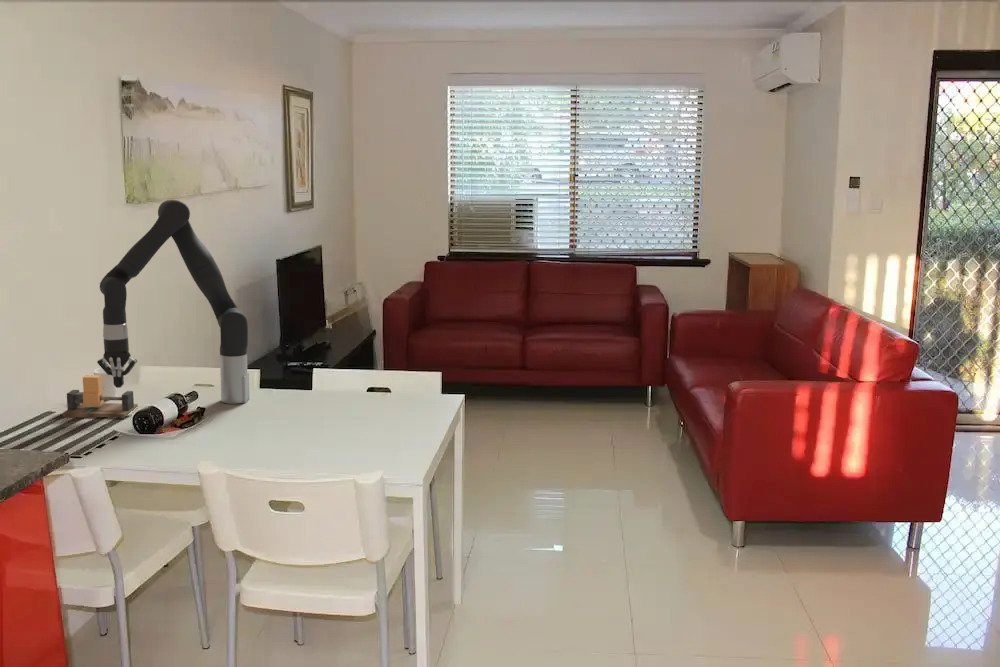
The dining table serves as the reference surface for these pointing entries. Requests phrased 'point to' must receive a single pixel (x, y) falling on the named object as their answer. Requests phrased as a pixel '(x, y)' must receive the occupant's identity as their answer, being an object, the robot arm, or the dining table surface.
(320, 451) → the dining table surface
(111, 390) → the white cup
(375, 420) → the dining table surface
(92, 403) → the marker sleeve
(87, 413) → the wooden board with posts
